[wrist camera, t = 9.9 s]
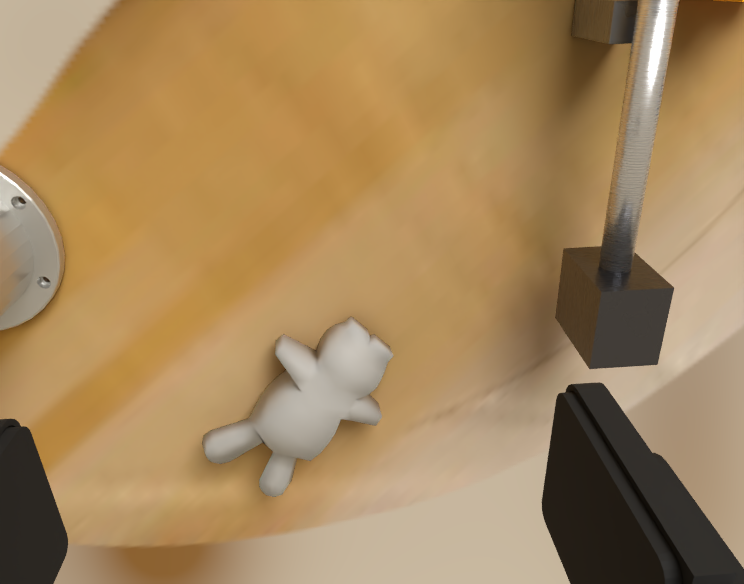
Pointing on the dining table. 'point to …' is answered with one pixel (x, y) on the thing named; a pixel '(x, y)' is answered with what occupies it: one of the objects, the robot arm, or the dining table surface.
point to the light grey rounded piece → (307, 402)
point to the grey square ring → (605, 20)
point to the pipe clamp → (731, 0)
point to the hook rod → (624, 223)
